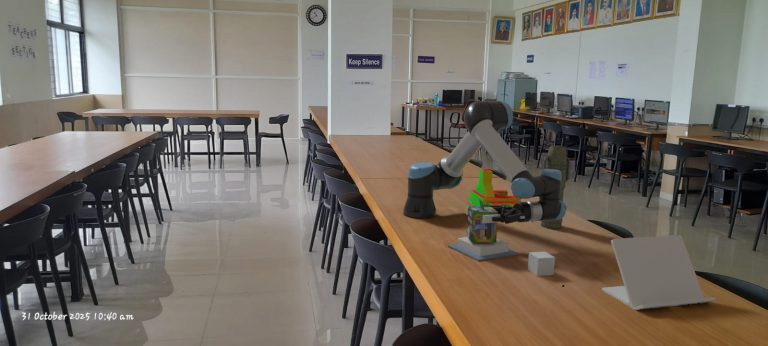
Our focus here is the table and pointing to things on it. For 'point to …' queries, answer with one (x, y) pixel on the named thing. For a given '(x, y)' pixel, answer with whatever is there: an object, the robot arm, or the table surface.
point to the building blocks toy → (490, 192)
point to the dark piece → (558, 162)
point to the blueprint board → (481, 258)
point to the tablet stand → (655, 273)
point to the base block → (482, 247)
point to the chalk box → (481, 224)
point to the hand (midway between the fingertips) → (474, 215)
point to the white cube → (541, 263)
